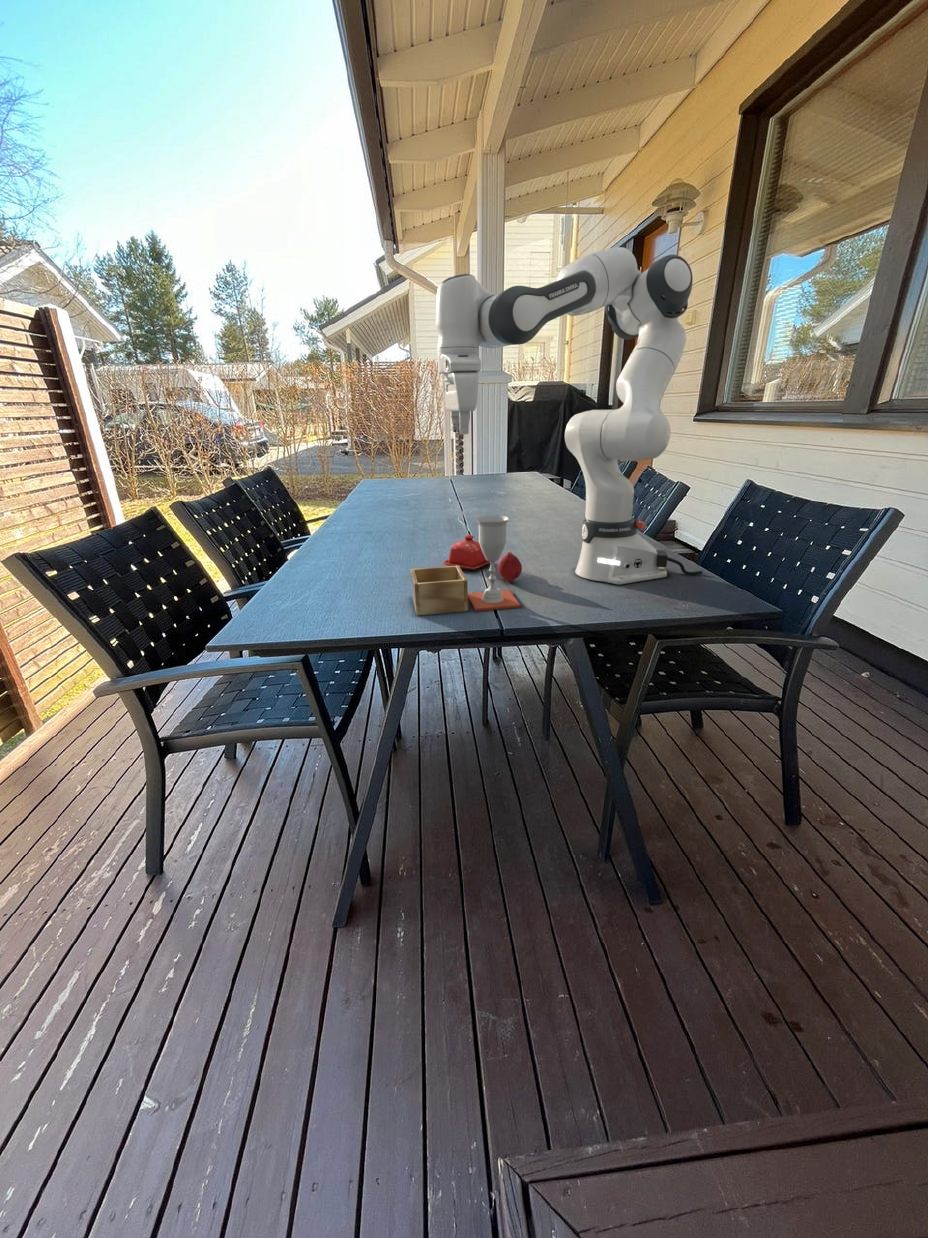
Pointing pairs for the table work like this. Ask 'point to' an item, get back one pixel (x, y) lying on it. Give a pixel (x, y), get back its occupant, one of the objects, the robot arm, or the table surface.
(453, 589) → the open wooden box
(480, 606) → the coaster
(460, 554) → the butter dish
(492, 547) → the chalice
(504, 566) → the onion
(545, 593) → the table surface
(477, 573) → the table surface
